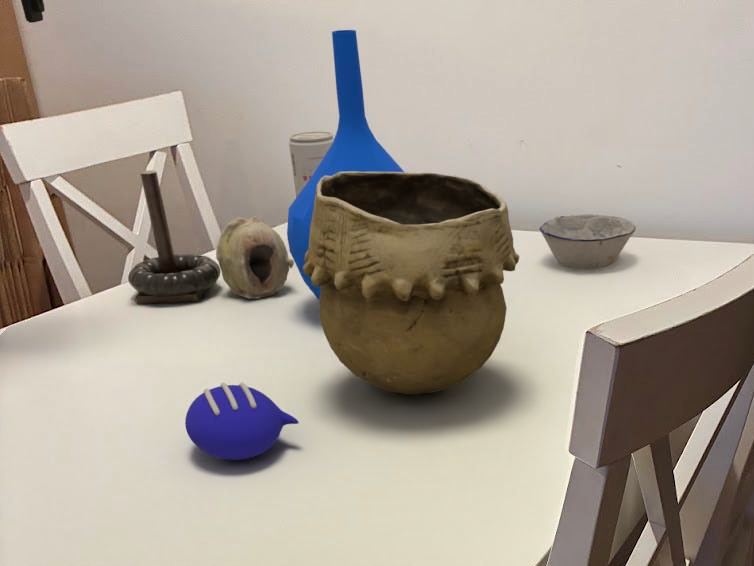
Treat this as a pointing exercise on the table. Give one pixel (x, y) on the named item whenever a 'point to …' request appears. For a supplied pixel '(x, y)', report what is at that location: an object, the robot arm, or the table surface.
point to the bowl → (587, 239)
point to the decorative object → (235, 422)
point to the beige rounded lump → (252, 258)
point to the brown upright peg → (161, 239)
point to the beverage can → (307, 155)
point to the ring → (175, 276)
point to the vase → (339, 147)
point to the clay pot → (410, 275)
